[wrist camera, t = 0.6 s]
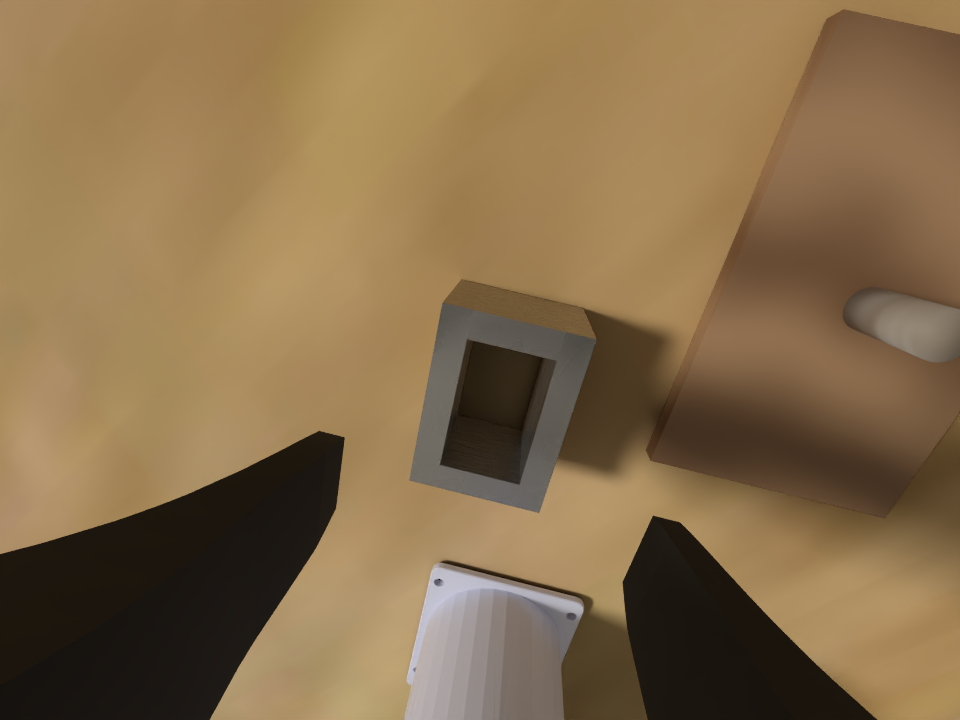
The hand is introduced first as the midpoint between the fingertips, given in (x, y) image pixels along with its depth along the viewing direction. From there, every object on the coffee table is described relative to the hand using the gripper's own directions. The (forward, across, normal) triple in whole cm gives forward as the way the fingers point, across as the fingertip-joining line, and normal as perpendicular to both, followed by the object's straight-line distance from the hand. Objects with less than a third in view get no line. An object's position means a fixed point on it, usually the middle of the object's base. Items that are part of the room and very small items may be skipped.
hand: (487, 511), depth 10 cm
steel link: (+9, 0, 0) cm, 9 cm away
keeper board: (+9, -12, -6) cm, 16 cm away
